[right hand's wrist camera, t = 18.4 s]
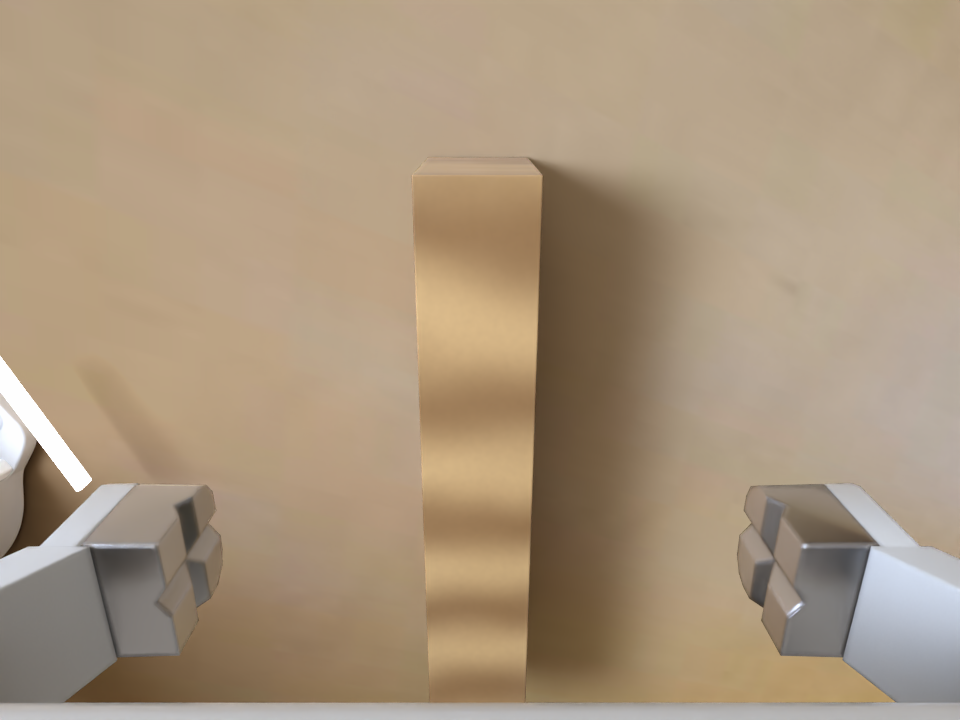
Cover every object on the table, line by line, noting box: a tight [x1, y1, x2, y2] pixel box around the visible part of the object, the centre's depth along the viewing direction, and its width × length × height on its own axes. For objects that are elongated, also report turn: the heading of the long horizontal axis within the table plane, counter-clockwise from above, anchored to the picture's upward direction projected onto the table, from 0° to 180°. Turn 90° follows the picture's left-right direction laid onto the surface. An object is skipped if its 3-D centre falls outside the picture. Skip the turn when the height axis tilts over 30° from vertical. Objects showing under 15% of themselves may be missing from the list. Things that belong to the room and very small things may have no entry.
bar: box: [412, 157, 543, 703], centre depth 33 cm, size 27×5×8 cm, turn 0°
